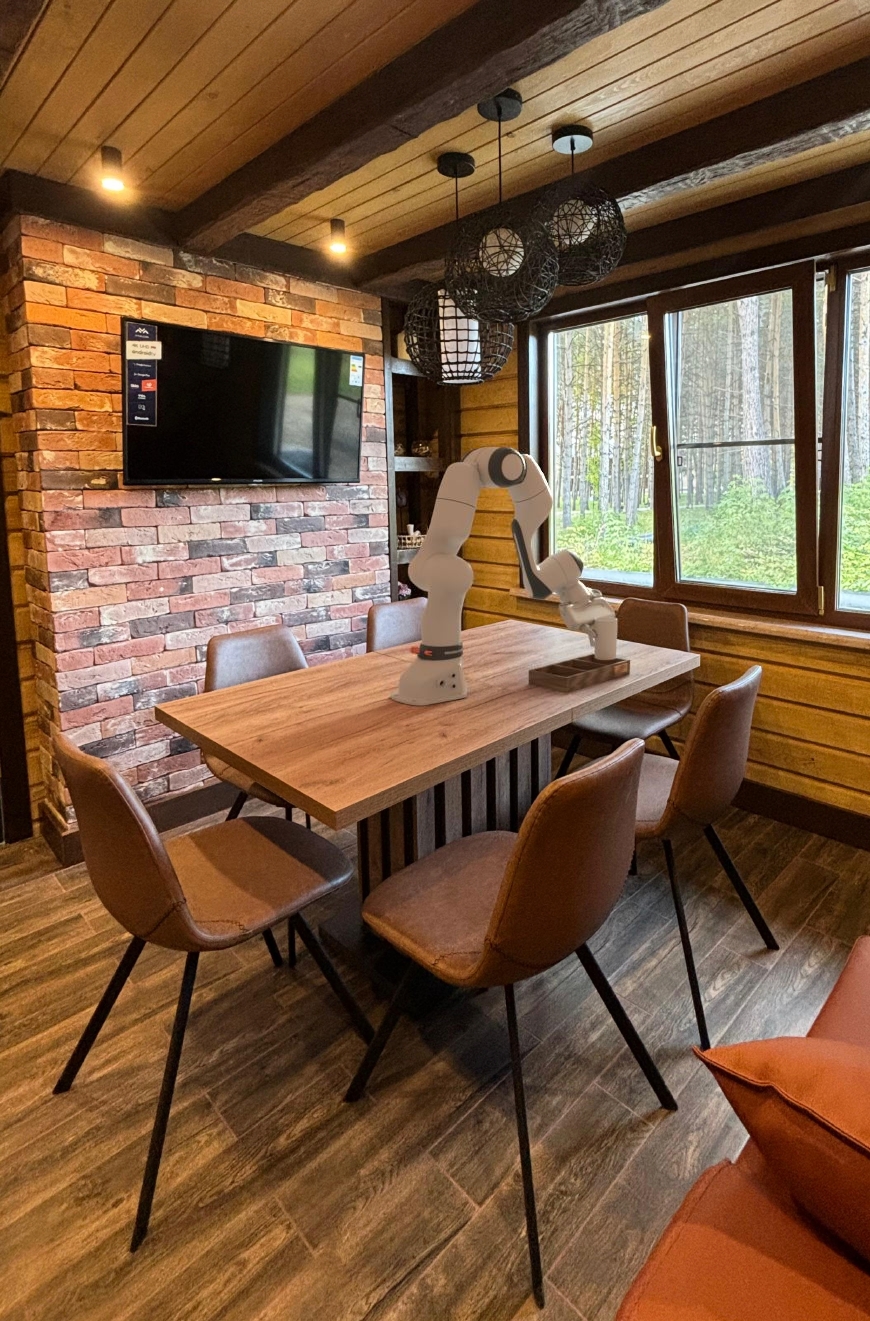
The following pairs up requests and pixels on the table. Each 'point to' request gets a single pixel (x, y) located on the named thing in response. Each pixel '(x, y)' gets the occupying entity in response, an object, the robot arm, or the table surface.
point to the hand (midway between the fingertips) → (602, 635)
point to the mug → (605, 638)
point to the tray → (578, 673)
